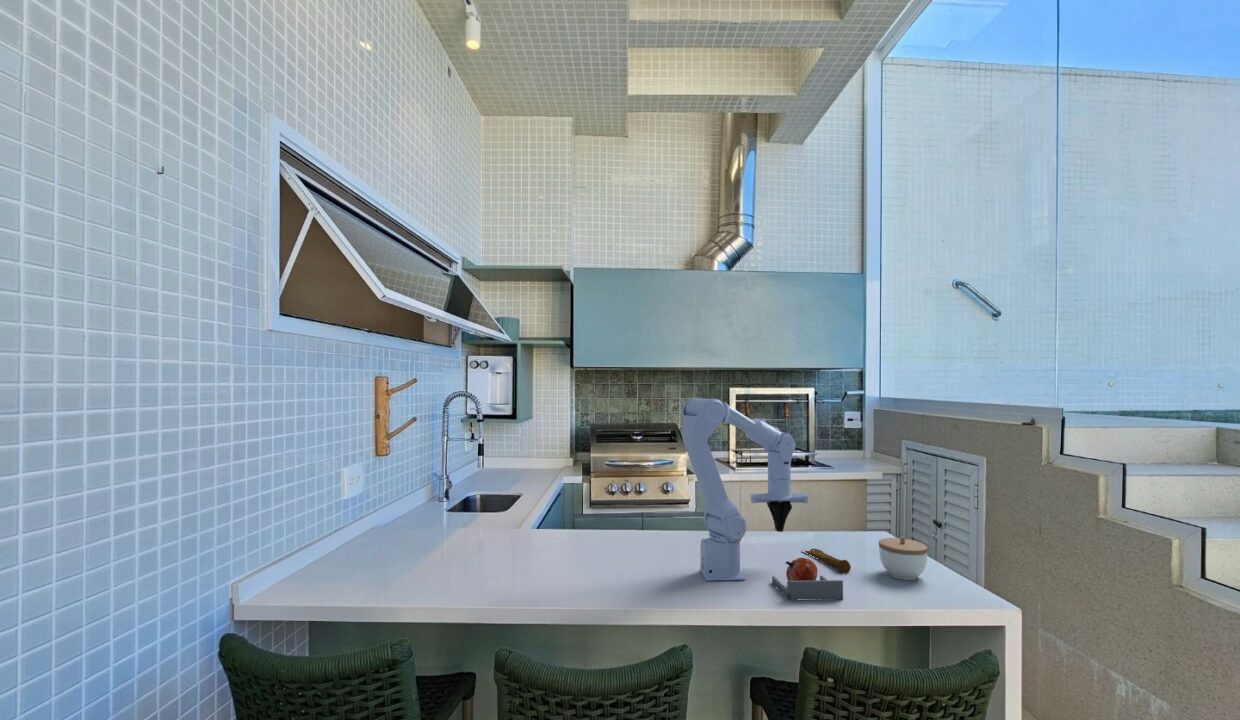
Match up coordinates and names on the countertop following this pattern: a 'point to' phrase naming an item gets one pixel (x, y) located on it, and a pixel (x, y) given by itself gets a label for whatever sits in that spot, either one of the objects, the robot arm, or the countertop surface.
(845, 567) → the primitive tool
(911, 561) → the lidded jar
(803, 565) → the pomegranate
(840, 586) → the box
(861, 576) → the countertop surface
